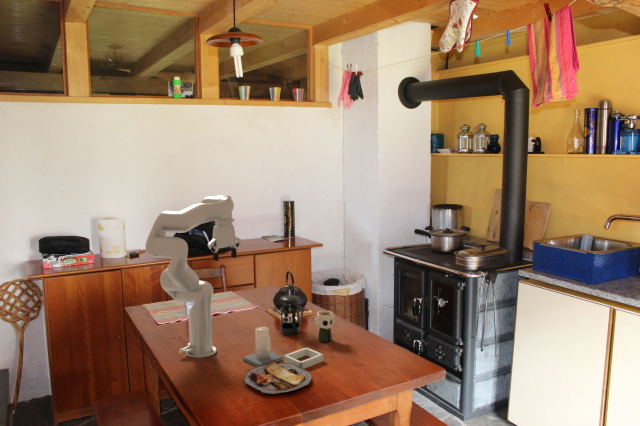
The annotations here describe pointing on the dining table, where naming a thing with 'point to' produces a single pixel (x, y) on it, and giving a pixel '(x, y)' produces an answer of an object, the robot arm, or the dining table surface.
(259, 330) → the cream jug
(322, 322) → the character mug
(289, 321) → the french press
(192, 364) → the dining table surface
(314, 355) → the cream rectangular frame
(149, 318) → the dining table surface
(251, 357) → the slate coaster
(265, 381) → the food plate
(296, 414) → the dining table surface
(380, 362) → the dining table surface
